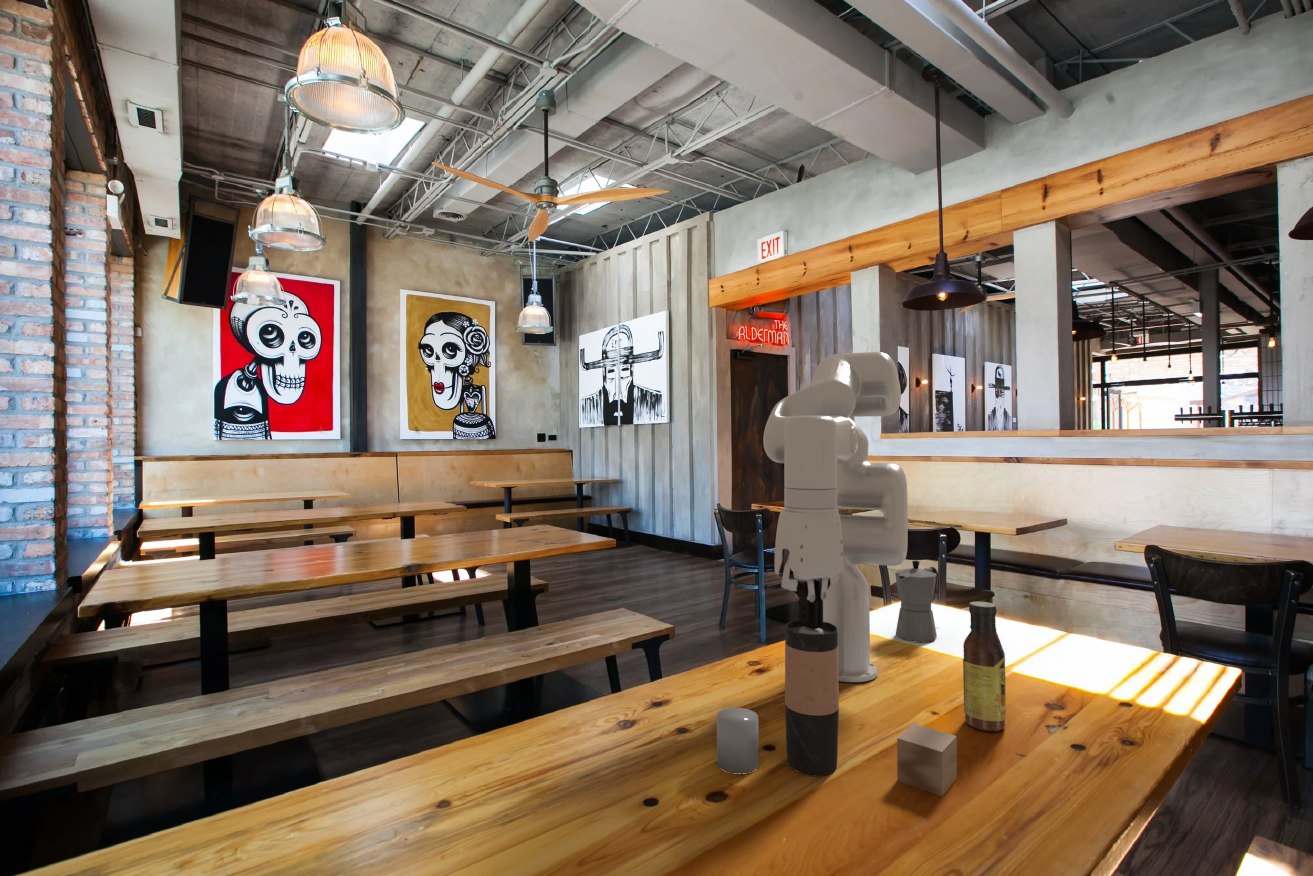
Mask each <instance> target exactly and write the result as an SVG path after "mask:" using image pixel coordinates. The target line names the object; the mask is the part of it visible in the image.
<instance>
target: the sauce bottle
mask: <svg viewBox="0 0 1313 876" xmlns="http://www.w3.org/2000/svg"><path fill="white" fill-rule="evenodd" d="M968 611H969V614H970V625H969V628H970V631H969V633H968V635H967V636H966V637H965V639H964V642H963V658H962V674H963V675H962V677H963V679H962V680H963V713H964V719H965V722H966V724H967V725H969V726H970V727H972V728H974V729H977V730H981V731H983V732H993V733H995V732H1000V731H1002V730H1003V729H1005V727H1006V719H1007V700H1006V699H1007V698H1006V697H1007V695H1006V694H1007V693H1006V691H1007V690H1006V687H1007V686H1006V685H1007V684H1006V653H1005V652H1004V648H1003V646H1002V642H1001V641H1000V640H1001V639H1000V638H999V635H998V632H997V625H996V614H997V613H998V612H997V605H996V604H995V603H992V602H988V601H970V602H969V605H968Z"/></svg>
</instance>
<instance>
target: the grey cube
mask: <svg viewBox="0 0 1313 876" xmlns="http://www.w3.org/2000/svg"><path fill="white" fill-rule="evenodd" d="M957 739H958V738H957V735H953V734H951V733H947V732H943V731H940V730H936V729H934V728H933V729H932V728H929V727H926V726H923V725H919V724H916V723H913V724H911V725H910V726H909V727H908V728H907V729H905V731H903V732H902V733H901V734H900V735H899V736H898V737H897V738H896V740H897V741H896V742H897V743H896V744H897V745H896V747H897V748H896V752H897V753H896V760H897V763H896V765H897V766H896V767H897V768H896V769H897V771H896V772H897V773H896V774H897V777H896V779H897V780H896V781H897V782H900V783H903V784H906V785H908V786H912V787H914V788H917V789H920V790H922V791H925V792H929V793H931V794H934V795H937V796H939V797H943V796H944V795H945V794H946V793H947V792H948V790H949V788H950V787H952V785H953V784H954V783H955V781H956V780H958V775H957V773H958V772H957V771H958V769H957V768H958V765H957V764H958V761H957V760H958V758H957V757H958V756H957V755H958V754H957V753H958V747H957V746H958V743H957V742H958V741H957Z"/></svg>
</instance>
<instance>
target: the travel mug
mask: <svg viewBox="0 0 1313 876" xmlns="http://www.w3.org/2000/svg"><path fill="white" fill-rule="evenodd" d="M784 628H785V629H784V631H785V633H784V636H785V637H784V638H785V639H784V711H785V712H784V713H785V714H784V717H785V740H786V741H785V743H786V744H785V745H786V747H785V748H786V760H787V764H789V765H788V766H789V767H790V768H791V767H792V768H793V769H795V770H797V771H799V772H801V773H800V774H802V773H804V774H803V775H806V774H808V775H807V776H811V775H813V776H812V777H814V775H816V776H815V777H820V776H821V777H822V776H823V775H824V776H828V775H831V774H833V773H834V772H835V771H836V770H837V767H838V751H839V749H838V747H839V745H838V744H839V717H840V716H839V712H840V709H839V708H840V703H839V702H840V701H839V700H840V695H839V694H840V693H839V692H840V690H839V681H838V630H837V627H836V626H835V625H833V624H830V623H827V622H823V627H822V628H817V629H811V628H808V627H805V626H802V625H800V624H799V619H797V620H792V621H788V622H787V623H786V624H785V627H784ZM792 768H791V769H792ZM793 769H792V770H793ZM795 770H794V771H795ZM797 771H796V772H797ZM799 772H798V773H799ZM830 773H831V774H830ZM824 776H823V777H824Z"/></svg>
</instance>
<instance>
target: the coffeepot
mask: <svg viewBox="0 0 1313 876" xmlns="http://www.w3.org/2000/svg"><path fill="white" fill-rule="evenodd" d="M911 563H912V567H910V568H903V569H897V570H896V572H894V576H895V581H896V589H897V596H898V600H899V601H900V607H899V612H898V618H897V624H896V630H895V636H897V637H898V638H899V639H900V640H901V639H902V640H904V641H908V642H913V641H916V642H915V643H930V642H929V641H932V642H934V641H935V639H936V640H937V636H938V635H937V629H936V625H935V619H934V612H933V610H932V603H933V601H934V600H935V595H936V592H937V590H936V589H937V585H938V581H939V572H938V570H937V569H936V567H934V566H929V567H925V568H923V569H922V568H919V566H920V561H919V560H912V561H911Z"/></svg>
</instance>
